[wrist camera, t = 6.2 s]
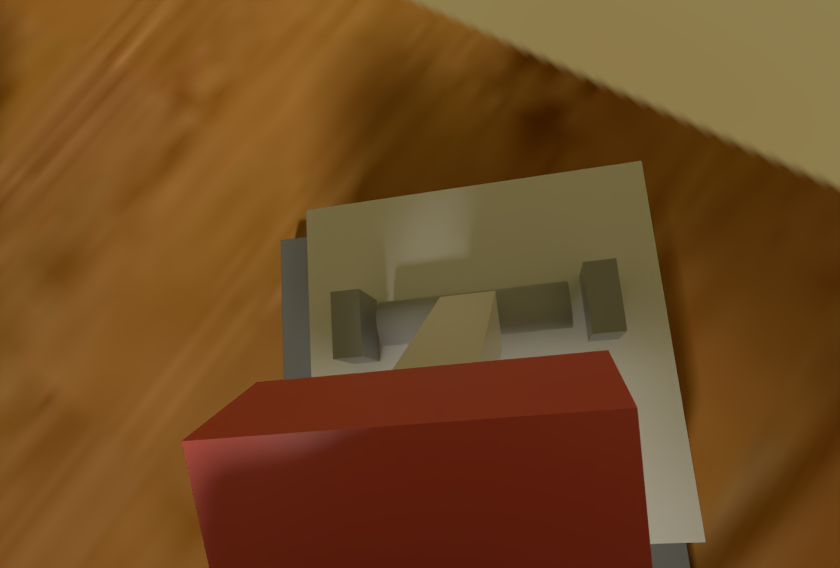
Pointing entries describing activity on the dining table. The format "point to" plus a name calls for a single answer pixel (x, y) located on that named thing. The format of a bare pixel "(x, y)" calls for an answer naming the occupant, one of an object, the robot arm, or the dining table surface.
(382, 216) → the switch panel
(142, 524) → the dining table surface
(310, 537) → the switch lever
